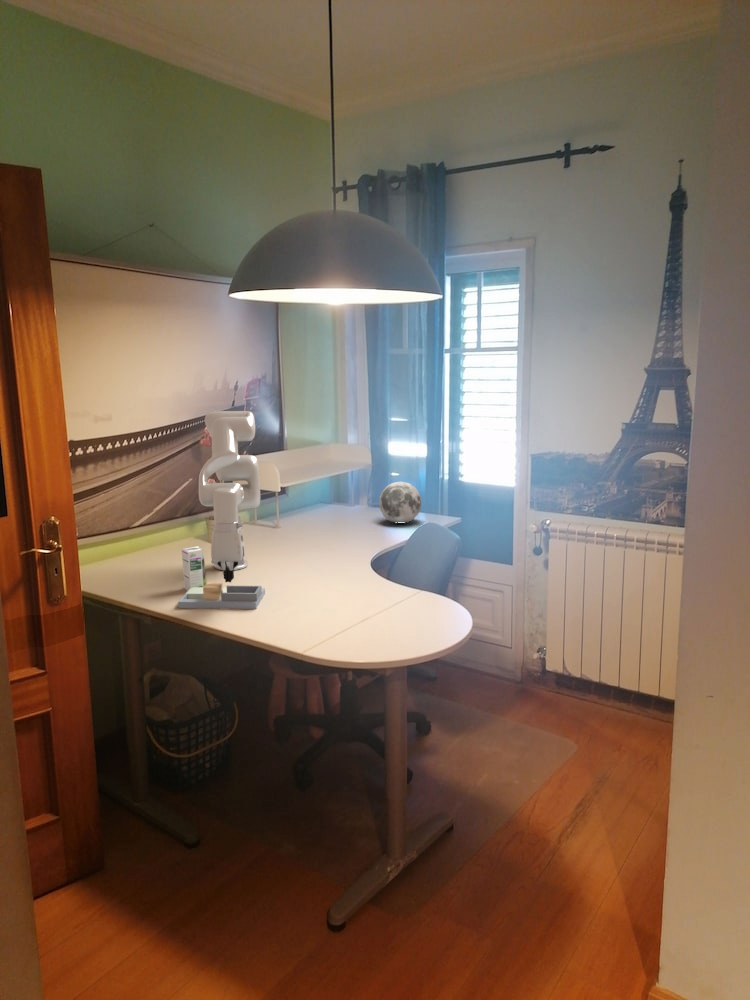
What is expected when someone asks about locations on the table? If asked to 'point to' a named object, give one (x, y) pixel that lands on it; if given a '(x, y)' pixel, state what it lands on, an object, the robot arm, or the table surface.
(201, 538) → the table surface
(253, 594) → the grey sorting tray
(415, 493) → the moon model
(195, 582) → the syrup box
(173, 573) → the table surface
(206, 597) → the block
